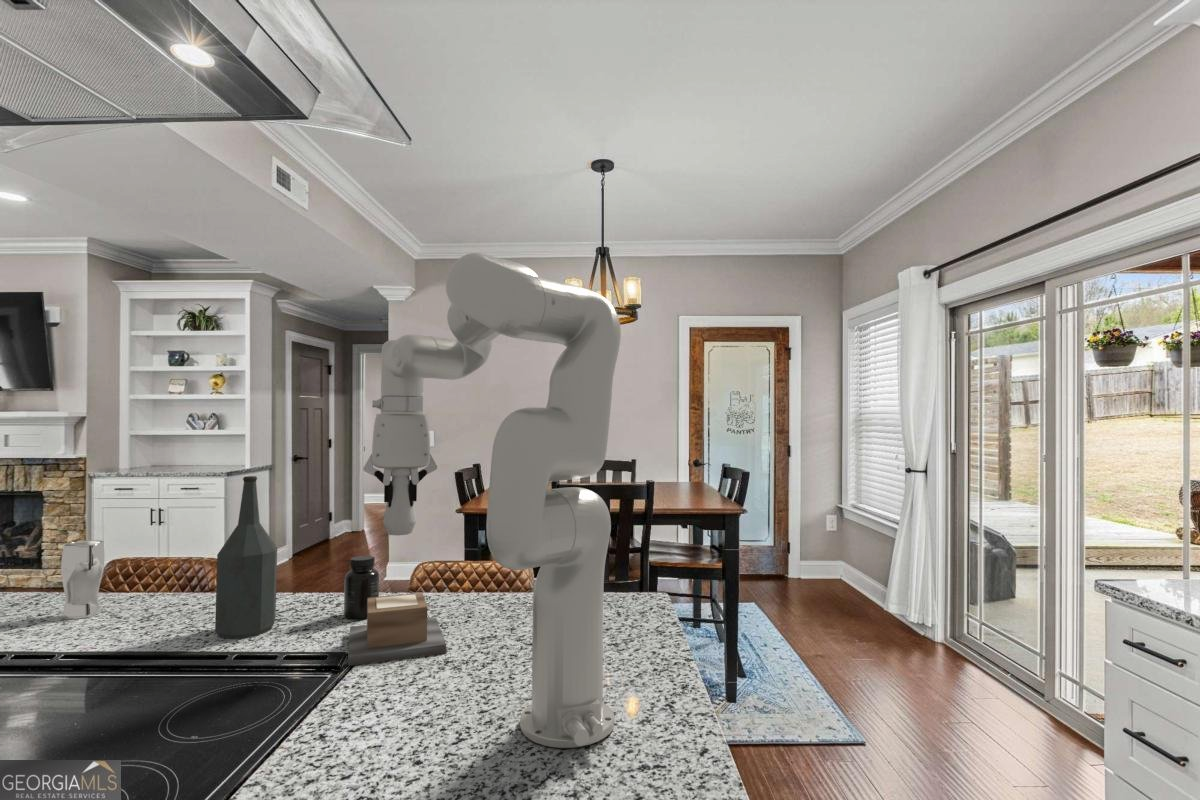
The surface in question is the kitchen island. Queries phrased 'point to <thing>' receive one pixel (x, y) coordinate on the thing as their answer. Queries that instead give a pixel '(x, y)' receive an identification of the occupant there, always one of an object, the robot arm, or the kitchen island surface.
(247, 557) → the bottle
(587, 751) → the kitchen island surface
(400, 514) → the salt shaker
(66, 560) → the beer glass
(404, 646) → the plinth
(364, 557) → the supplement bottle
